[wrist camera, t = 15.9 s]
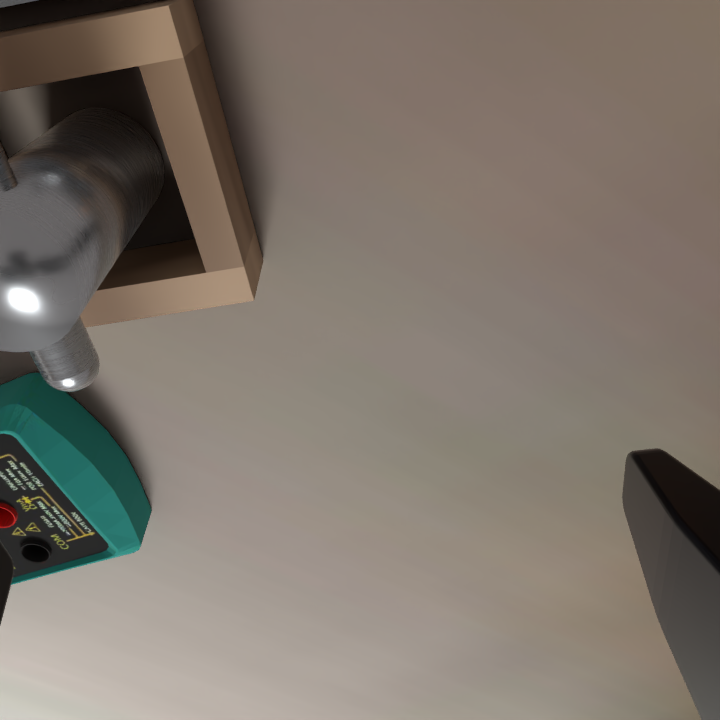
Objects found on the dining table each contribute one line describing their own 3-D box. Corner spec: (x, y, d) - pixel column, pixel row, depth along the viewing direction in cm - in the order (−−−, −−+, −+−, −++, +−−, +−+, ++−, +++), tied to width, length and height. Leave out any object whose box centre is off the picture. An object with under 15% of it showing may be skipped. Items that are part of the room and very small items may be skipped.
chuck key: (120, 30, 16) (-6, 92, 10) (195, 259, 19) (134, 404, 14) (2, 52, 16) (-186, 125, 10) (98, 275, 20) (-4, 424, 14)
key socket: (191, -6, 16) (168, 5, 14) (263, 260, 19) (254, 300, 17) (-85, 48, 16) (-148, 67, 14) (38, 296, 20) (3, 340, 18)
